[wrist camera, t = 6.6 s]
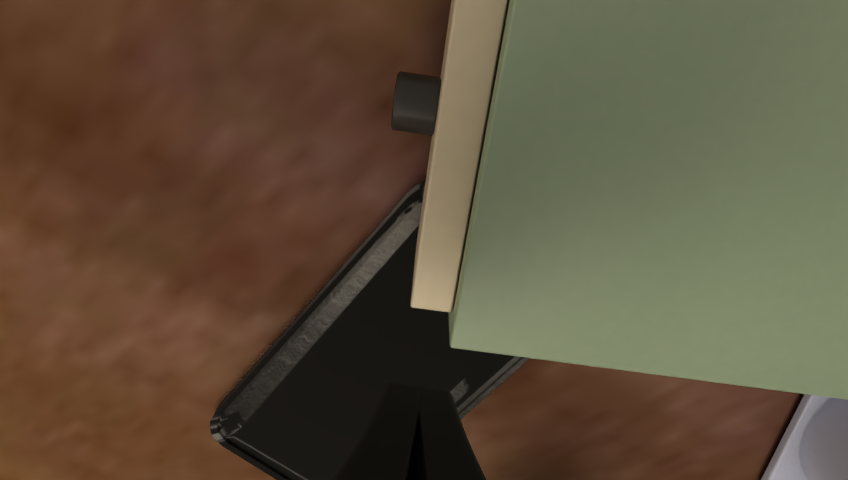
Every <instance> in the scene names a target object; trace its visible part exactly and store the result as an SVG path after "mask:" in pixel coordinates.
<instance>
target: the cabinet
mask: <svg viewBox="0 0 848 480" xmlns="http://www.w3.org/2000/svg"><path fill="white" fill-rule="evenodd" d="M470 216H471V217H470ZM449 340H450V347H452V348H457V349H465V350H472V351H480V352H488V353H495V354H503V355H511V356H518V357H526V358H533V359H541V360H549V361H556V362H564V363H572V364H579V365H587V366H595V367H602V368H610V369H617V370H625V371H633V372H640V373H648V374H656V375H663V376H671V377H679V378H686V379H694V380H701V381H709V382H717V383H724V384H732V385H740V386H747V387H755V388H762V389H770V390H778V391H785V392H793V393H801V394H808V395H816V396H824V397H831V398H839V399H846V400H848V0H508V4H507V10H506V15H505V21H504V27H503V32H502V38H501V43H500V49H499V54H498V60H497V65H496V71H495V76H494V82H493V87H492V93H491V99H490V104H489V110H488V115H487V121H486V126H485V132H484V137H483V143H482V148H481V154H480V160H479V165H478V171H477V176H476V182H475V187H474V193H473V198H472V204H471V209H470V215H469V221H468V226H467V232H466V237H465V243H464V248H463V254H462V259H461V265H460V270H459V276H458V282H457V287H456V293H455V298H454V304H453V309H452V311H451V312H449Z"/></svg>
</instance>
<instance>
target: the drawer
mask: <svg viewBox="0 0 848 480" xmlns="http://www.w3.org/2000/svg"><path fill="white" fill-rule="evenodd" d="M507 4H508V0H451V7H450V14H449V21H448V28H447V35H446V42H445V49H444V56H443V63H442V70H441V77H435V76H428V75H421V74H414V73H407V72H399V73H398V75H397V80H396V86H395V93H394V100H393V109H392V121H391V127H392V129H393V130H397V131H404V132H412V133H419V134H426V135H432V140H431V147H430V154H429V161H428V168H427V175H426V182H425V189H424V196H423V203H422V210H421V217H420V224H419V231H418V238H417V245H416V254H415V264H414V274H413V284H412V294H411V304H410V305H411V307H413V308H420V309H427V310H435V311H442V312H451V311H452V309H453V304H454V298H455V293H456V287H457V282H458V276H459V270H460V265H461V259H462V254H463V248H464V243H465V237H466V232H467V226H468V221H469V215H470V209H471V204H472V198H473V193H474V187H475V182H476V176H477V171H478V165H479V160H480V154H481V148H482V143H483V137H484V132H485V126H486V121H487V115H488V110H489V104H490V99H491V93H492V87H493V82H494V76H495V71H496V65H497V60H498V54H499V49H500V43H501V38H502V32H503V27H504V21H505V15H506V10H507Z"/></svg>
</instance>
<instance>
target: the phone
mask: <svg viewBox="0 0 848 480" xmlns="http://www.w3.org/2000/svg"><path fill="white" fill-rule="evenodd" d="M425 182H426V181H424V182H422V183H419V184H417V185H416V186H415V187H413V188H412V189H411V190H410V191H409V192H408V193H407V194H406V195H405V196H404V197H403V199H402V200H401V201H400V202H399V203H398V204H397V205H396V206H395V208H394V209H393V210H392V211H391V212H390V213H389V214H388V215H387V217H386V218H385V219H384V220H383V221H382V222H381V223H380V224H379V226H378V227H377V228H376V229H375V230H374V231H373V232H372V233H371V235H370V236H369V237H368V238H367V239H366V240H365V241H364V242H363V244H362V245H361V246H360V247H359V248H358V249H357V250H356V251H355V253H354V254H353V255H352V256H351V257H350V258H349V259H348V260H347V262H346V263H345V264H344V265H343V266H342V267H341V268H340V269H339V271H338V272H337V273H336V274H335V275H334V276H333V277H332V279H331V280H330V281H329V282H328V283H327V284H326V285H325V286H324V288H323V289H322V290H321V291H320V292H319V293H318V294H317V295H316V297H315V298H314V299H313V300H312V301H311V302H310V303H309V304H308V306H307V307H306V308H305V309H304V310H303V311H302V312H301V313H300V315H299V316H298V317H297V318H296V319H295V320H294V321H293V322H292V324H291V325H290V326H289V327H288V328H287V329H286V330H285V331H284V333H283V334H282V335H281V336H280V337H279V338H278V339H277V340H276V342H275V343H274V344H273V345H272V346H271V347H270V348H269V349H268V351H267V352H266V353H265V354H264V355H263V356H262V357H261V358H260V360H259V361H258V362H257V363H256V364H255V365H254V366H253V367H252V369H251V370H250V371H249V372H248V373H247V374H246V375H245V377H244V378H243V379H242V380H241V381H240V382H239V383H238V384H237V386H236V387H235V388H234V389H233V390H232V391H231V392H230V393H229V395H228V396H227V397H226V398H225V399H224V400H223V401H222V402H221V404H220V405H219V407H218V409H217V410H216V412H215V414H214V416H213V418H212V419H211V421H210V430H211V434H212V436H213V437H214V439H215V440H216V441H217V442H218V443H219V444H221V445H222V446H223V447H225V448H226V449H228V450H230V451H231V452H233V453H234V454H236V455H238V456H239V457H241V458H243V459H244V460H246V461H247V462H249V463H251V464H252V465H254V466H255V467H257V468H259V469H260V470H262V471H264V472H265V473H267V474H268V475H270V476H272V477H273V478H275V479H276V480H333V478H334V477H335V476H336V474H337V473H338V471H339V470H340V469H341V467H342V466H343V464H344V463H345V461H346V460H347V459H348V457H349V456H350V454H351V452H352V451H353V449H354V448H355V446H356V444H357V443H358V441H359V439H360V438H361V436H362V434H363V433H364V431H365V429H366V428H367V426H368V424H369V422H370V420H371V418H372V416H373V414H374V412H375V410H376V408H377V406H378V404H379V401H380V399H381V396H382V393H383V389H384V386H386V385H387V384H389V383H397V384H404V385H412V386H419V387H426V388H434V389H441V390H449V392H450V393H451V394H452V395H453V398H454V402H455V405H456V409H457V412H458V415H459V418H460V419H462V418H463V417H464V416H465V415H466V414H467V413H468V412H470V411H471V410H472V409H473V408H474V407H475V406H476V405H477V404H479V403H480V402H481V401H482V400H483V399H484V398H485V397H487V396H488V395H489V394H490V393H491V392H492V391H493V390H494V389H496V388H497V387H498V386H499V385H500V384H501V383H502V382H504V381H505V380H506V379H507V378H508V377H509V376H510V375H511V374H513V373H514V372H515V371H516V370H517V369H518V368H519V367H521V366H522V365H523V364H524V363H525V362H526V361H527V360H528V359H530V358H526V357H518V356H511V355H503V354H495V353H488V352H480V351H472V350H465V349H457V348H452V347H450V340H449V312H442V311H435V310H427V309H420V308H413V307H411V305H410V304H411V294H412V284H413V274H414V264H415V254H416V245H417V238H418V231H419V224H420V217H421V210H422V203H423V196H424V189H425ZM470 217H471V216H470Z"/></svg>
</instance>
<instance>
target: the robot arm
mask: <svg viewBox="0 0 848 480" xmlns="http://www.w3.org/2000/svg"><path fill="white" fill-rule="evenodd" d="M333 480H486V478H485V476H484V474H483V472H482V470H481V468H480V466H479V464H478V461H477V459H476V457H475V455H474V453H473V451H472V448H471V446H470V443H469V441H468V439H467V436H466V434H465V431H464V428H463V426H462V423H461V420H460V418H459V415H458V412H457V409H456V405H455V402H454V398H453V395H452V394H451V393H450V392H449V390H441V389H434V388H426V387H419V386H412V385H404V384H397V383H389V384H387V385H386V386H384V389H383V393H382V396H381V399H380V401H379V404H378V406H377V408H376V410H375V412H374V414H373V416H372V418H371V420H370V422H369V424H368V426H367V428H366V429H365V431H364V433H363V434H362V436H361V438H360V439H359V441H358V443H357V444H356V446H355V448H354V449H353V451H352V452H351V454H350V456H349V457H348V459H347V460H346V461H345V463H344V464H343V466H342V467H341V469H340V470H339V471H338V473H337V474H336V476H335V477H334V478H333ZM761 480H848V400H846V399H839V398H831V397H824V396H816V395H808V394H804V396H803V398H802V400H801V402H800V404H799V406H798V408H797V410H796V412H795V413H794V415H793V417H792V419H791V421H790V423H789V425H788V427H787V429H786V431H785V433H784V435H783V437H782V439H781V441H780V443H779V445H778V447H777V449H776V451H775V453H774V455H773V457H772V459H771V461H770V463H769V465H768V467H767V469H766V471H765V473H764V475H763V477H762V479H761Z"/></svg>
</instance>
